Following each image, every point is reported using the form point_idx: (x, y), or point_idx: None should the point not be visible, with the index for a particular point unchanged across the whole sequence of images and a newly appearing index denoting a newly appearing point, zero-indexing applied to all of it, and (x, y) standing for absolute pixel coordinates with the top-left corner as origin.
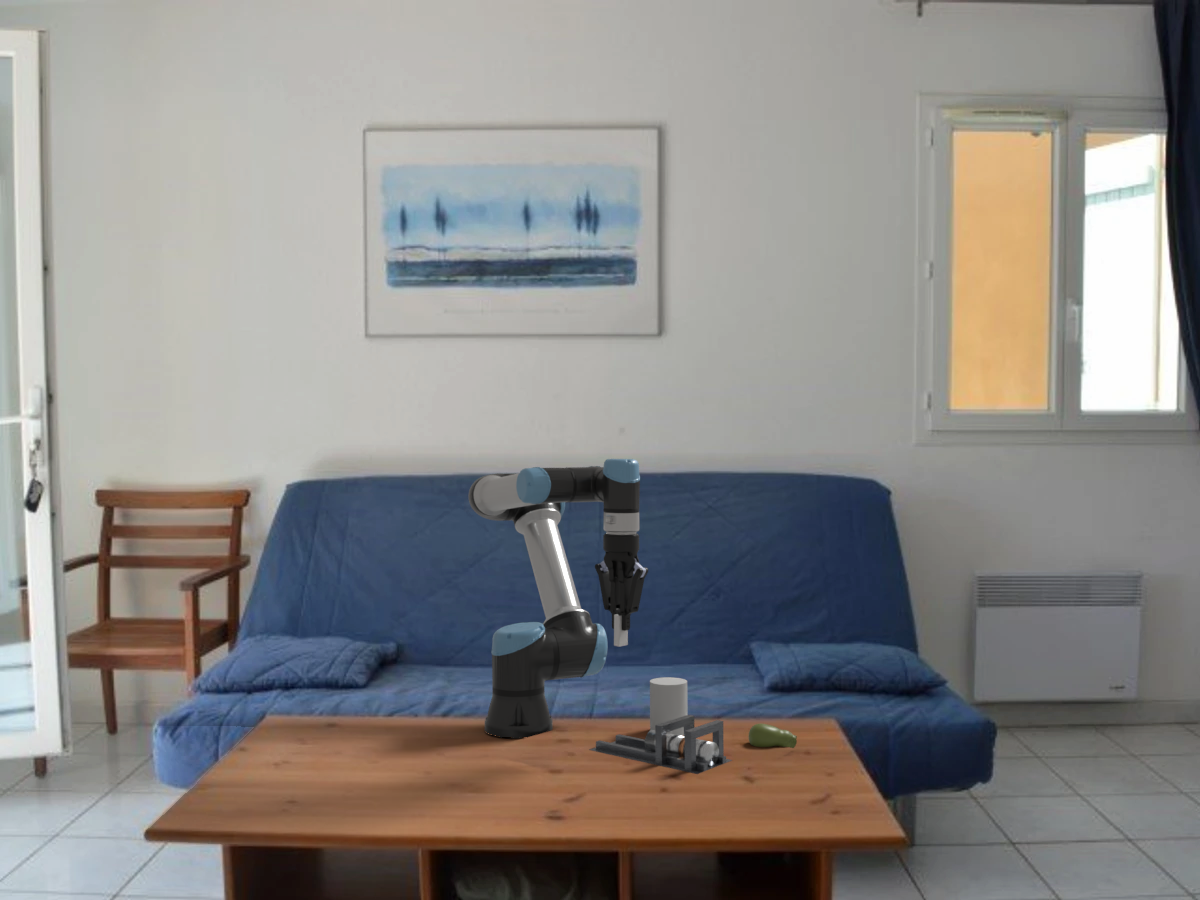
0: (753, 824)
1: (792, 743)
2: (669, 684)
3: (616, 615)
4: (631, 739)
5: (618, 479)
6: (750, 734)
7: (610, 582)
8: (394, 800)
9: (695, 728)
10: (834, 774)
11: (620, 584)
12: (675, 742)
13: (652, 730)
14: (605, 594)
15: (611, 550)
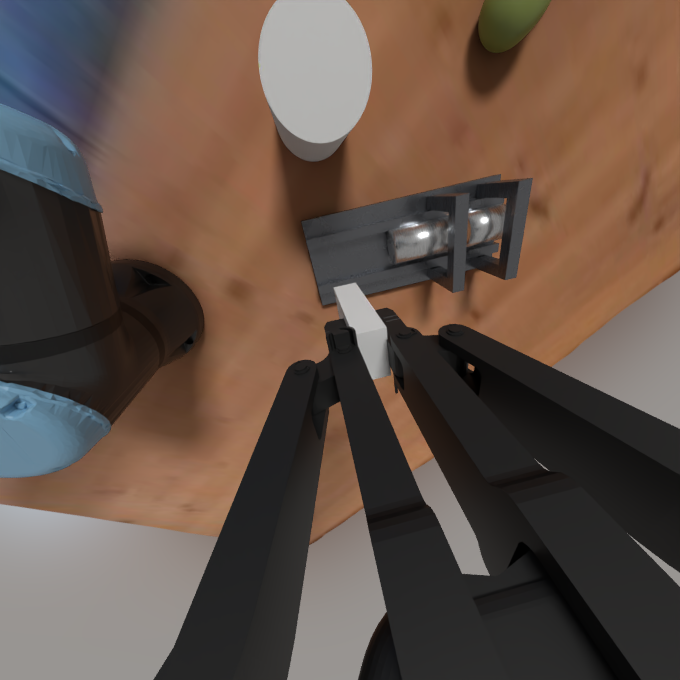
0: (588, 313)
1: None
2: (352, 113)
3: (373, 377)
4: (339, 242)
5: None
6: (500, 42)
7: (284, 518)
8: (334, 473)
9: (512, 257)
10: (648, 71)
11: (473, 518)
12: None
13: (399, 249)
14: (316, 470)
15: None
